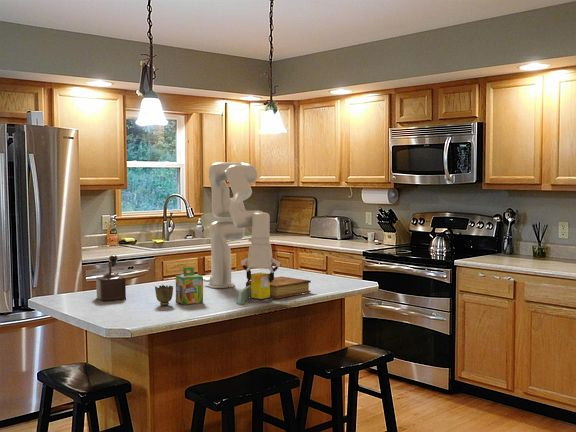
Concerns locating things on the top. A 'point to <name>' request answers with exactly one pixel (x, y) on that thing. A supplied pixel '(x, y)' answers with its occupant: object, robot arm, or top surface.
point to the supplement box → (260, 286)
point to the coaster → (261, 300)
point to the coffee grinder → (111, 284)
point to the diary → (286, 287)
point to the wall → (244, 295)
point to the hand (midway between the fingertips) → (260, 281)
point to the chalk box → (189, 287)
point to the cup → (164, 294)
